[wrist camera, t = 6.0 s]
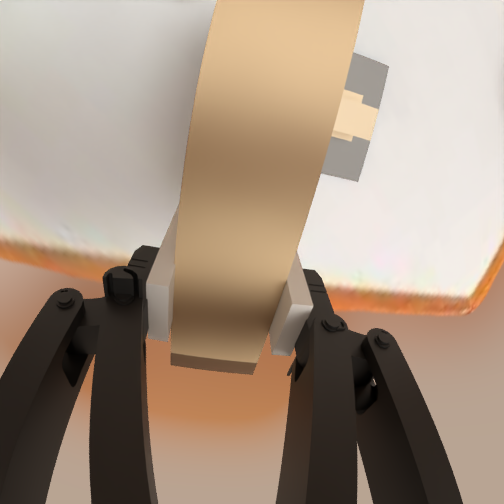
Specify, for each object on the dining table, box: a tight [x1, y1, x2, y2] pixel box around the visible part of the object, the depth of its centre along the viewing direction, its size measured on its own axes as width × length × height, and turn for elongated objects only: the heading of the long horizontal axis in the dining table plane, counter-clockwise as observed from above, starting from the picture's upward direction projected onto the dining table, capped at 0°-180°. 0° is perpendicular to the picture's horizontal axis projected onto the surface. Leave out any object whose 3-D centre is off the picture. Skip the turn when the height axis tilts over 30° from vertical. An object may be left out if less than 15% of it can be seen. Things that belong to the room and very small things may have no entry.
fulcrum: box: [321, 53, 389, 182], centre depth 24 cm, size 14×16×7 cm
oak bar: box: [171, 0, 365, 375], centre depth 11 cm, size 20×4×6 cm, turn 168°
